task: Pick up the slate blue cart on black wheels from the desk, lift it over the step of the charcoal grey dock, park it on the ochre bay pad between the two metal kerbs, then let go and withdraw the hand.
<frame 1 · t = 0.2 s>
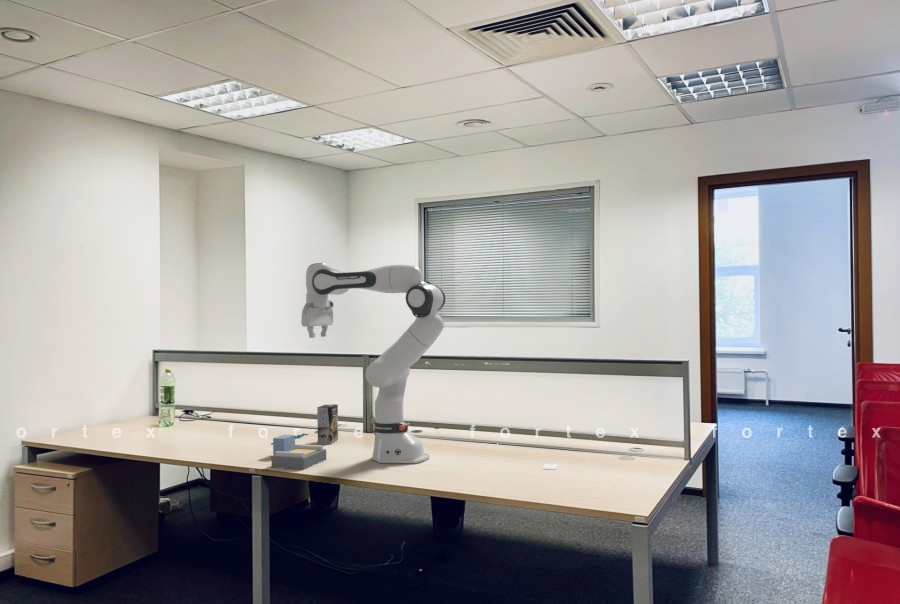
hand: (317, 337, 271), 47 cm above the table, tool pointing down, fingers open, 8 cm apart
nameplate: (298, 437, 308), on the table
coffee box: (328, 442, 294), on the table
dock: (299, 463, 254), on the table
cart: (284, 455, 269), on the table
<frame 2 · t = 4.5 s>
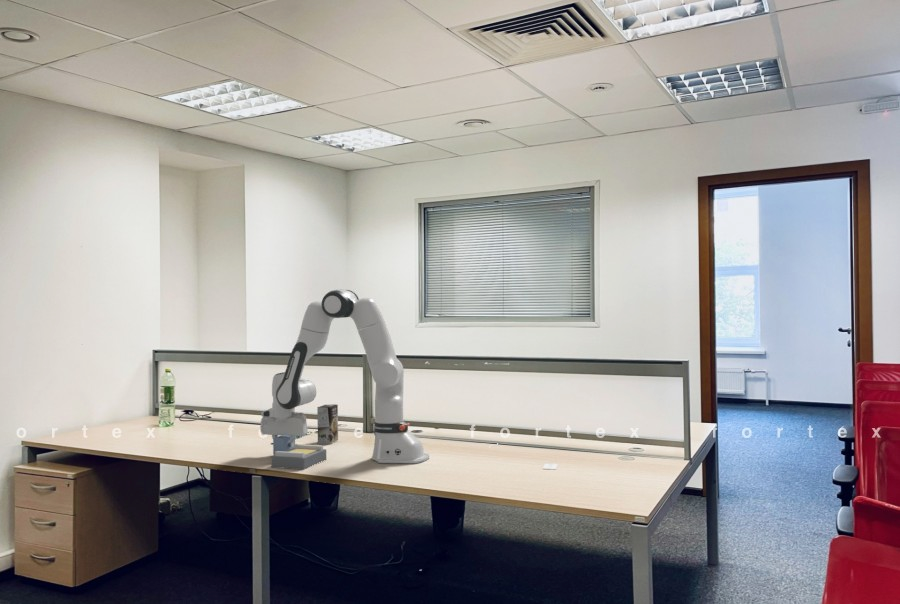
hand: (284, 446, 269), 4 cm above the table, tool pointing down, fingers closed on cart, 5 cm apart
cart: (284, 455, 269), on the table, touching gripper
everything else where it was.
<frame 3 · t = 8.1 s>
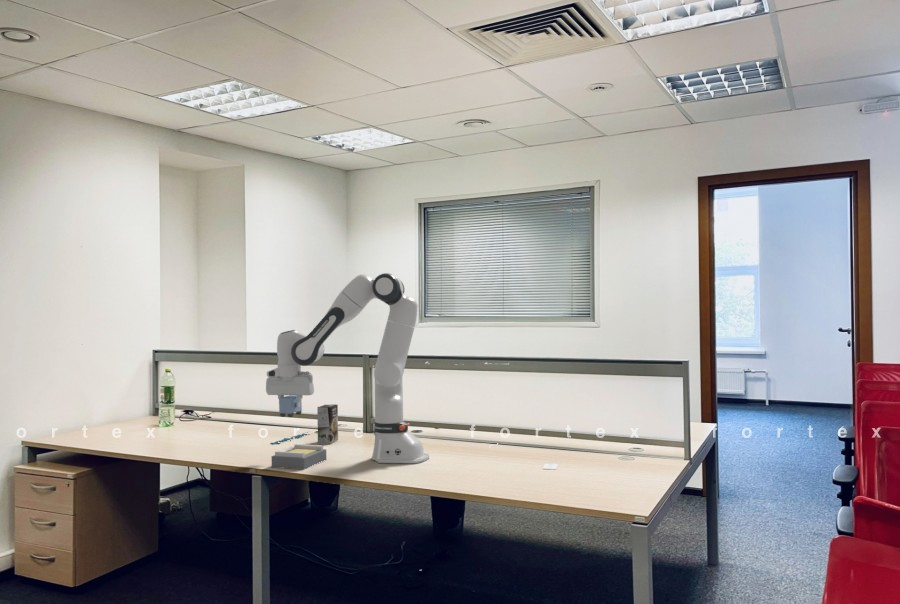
hand: (290, 406, 263), 20 cm above the table, tool pointing down, fingers closed on cart, 5 cm apart
cart: (290, 415, 263), point 17 cm above the table, touching gripper
everything else where it was.
when the fingers open (10 cm above the table, at t = 11.9 s): cart drops 2 cm, resting on dock.
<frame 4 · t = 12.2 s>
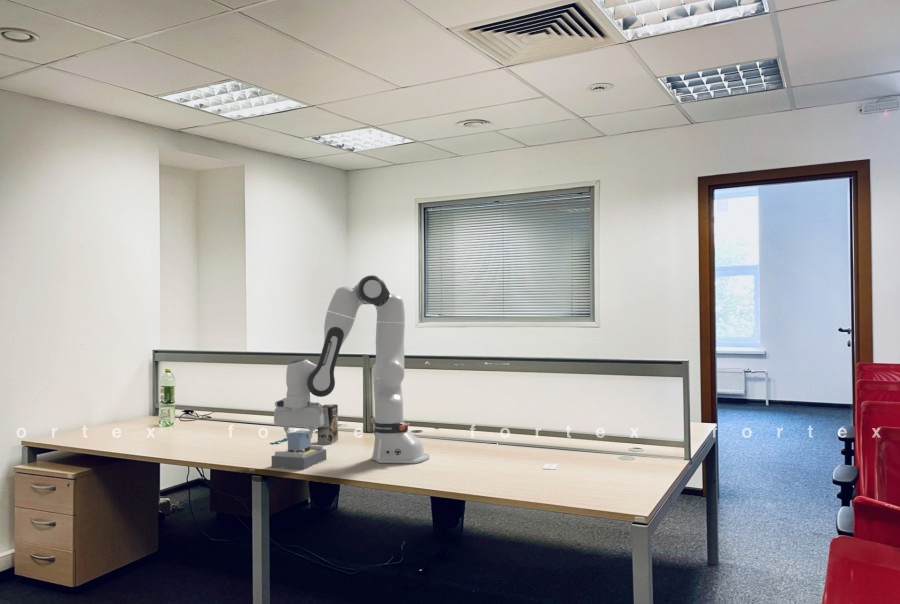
hand: (299, 438, 254), 10 cm above the table, tool pointing down, fingers open, 7 cm apart
cart: (299, 452, 254), point 4 cm above the table, touching dock
everything else where it was.
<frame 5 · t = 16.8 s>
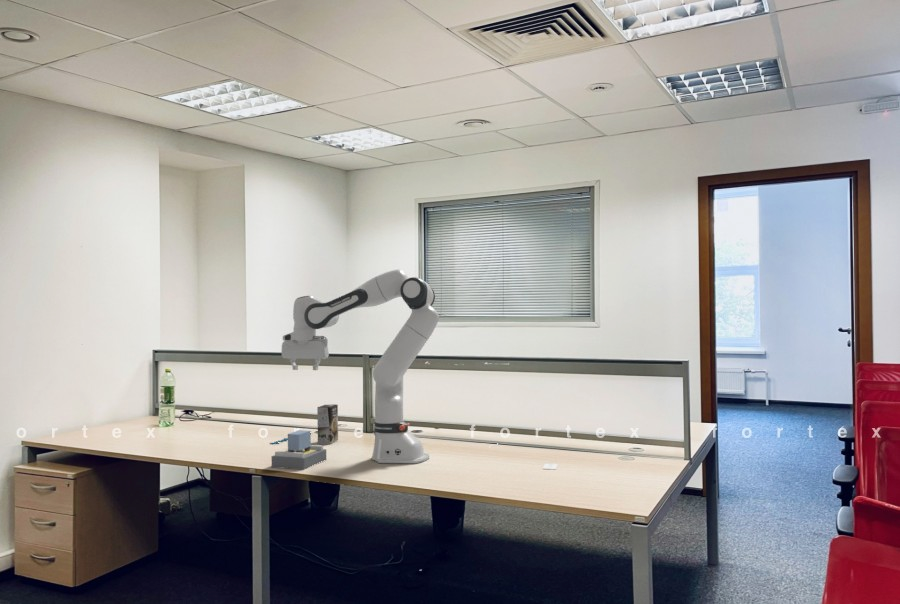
hand: (305, 370, 271), 34 cm above the table, tool pointing down, fingers open, 8 cm apart
nothing on the table moved.
at the end: cart inside the target area on the dock (0.1 cm from its centre), point 4.3 cm above the dock's base; cart tilted 0°; the gripper is holding nothing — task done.
